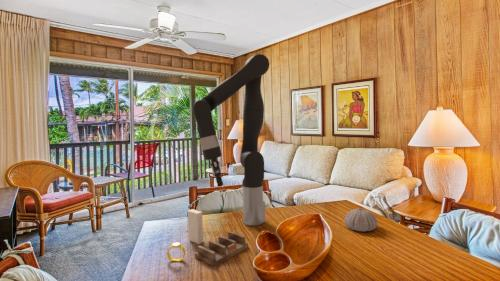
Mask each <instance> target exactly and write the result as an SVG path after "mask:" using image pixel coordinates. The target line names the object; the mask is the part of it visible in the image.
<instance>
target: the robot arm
mask: <svg viewBox="0 0 500 281" xmlns="http://www.w3.org/2000/svg"><path fill="white" fill-rule="evenodd" d="M269 68H270V61H269V59H268V57H267V56H266V55H265V54H261V53H257V54H254V55H251V56H250V57H249V58H247V60H246V61H245V63H244V66H243V67H242V68H241V69H239V70H238V71H237V72H236V73H234V74H233V75H231V76H230V77H228V78H227V79H224V81H222V82H220V83H219V84H218V85H216V86H215V87H214V88H212V89H211V90H210V91H209V92H208V93H207V95H205V96H204V97H202V98H201V99H198V100H196V101H194V103H193V105H192V108H191V111H192V115H193V116H194V118H195V121H196V126H197V128H196V129H197V134H198V137H199V138H198V139H199V143H200V147H201V151H202V155H203V156H202V157H203V159H204V160H205V161H209V160H210V163H209V165H210V168H211V170H212V174H213V175H214V178H215V180H216V184H217V187H218V188H219V187H222V186H224V182H223V179H222V176H223V175H222V173H221V172H222V170H221V163H220V161H218V158H220V157H222V149H221V145H220V142H219V139H218V137H217V133H216V130H215V125H214V122H213V115H212V113H213V111H214V110H215V109H216V108H217V107H219V106H221V105H222V104H223V103H224V102H226V101H227V100H228V99H230V98H231V97H232V96H233V95H235V94H236V93H237V92H238V91H240V90H241V89H242V88H243V87H244V86H245V88H244V99H243V100H244V102H243V114H242V116H243V117H242V119H243V120H242V123H243V124H242V144H241V151H240V157H239V159H240V160H239V161H240V164H241V166H242V168H244V169H243V171H244V172H243V175H244V177H243V179H242V182H241V183H242V185H241V186H242V214H243V216H242V218H243V220H242V221H243V224H244V225H246V226H252V227H255V226H260V225H262V224H263V223H266V202H265V201H264V180H265V159H264V155H263V154H262V153H261V152H259V149H258V147H259V145H258V143H259V142H258V141H259V137H260V133H261V131H262V127H263V124H264V118H265V117H264V116H265V105H264V100H263V96H262V91H261V90H262V89H261V84H262V76H263V75H265V74H267V72H269Z"/></svg>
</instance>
